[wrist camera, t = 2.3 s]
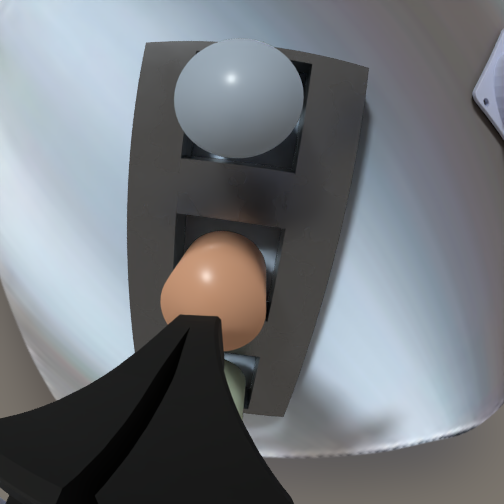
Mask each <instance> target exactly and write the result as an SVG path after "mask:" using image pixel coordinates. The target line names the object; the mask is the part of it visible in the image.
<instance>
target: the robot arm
mask: <svg viewBox="0 0 504 504" xmlns="http://www.w3.org/2000/svg"><path fill="white" fill-rule="evenodd" d="M473 99H474V101H475V102H476V103H477V105H478V106H479V107H480V108H481V110H482V111H483V112H484V113H485V115H486V116H487V117H488V119H489V120H490V121H491V123H492V124H493V125H494V127H495V128H496V130H497V131H498V132H499V134H500V135H501V137H502V138H503V140H504V29H503V30H502V31H501V33H500V36H499V38H498V40H497V43H496V45H495V47H494V49H493V51H492V54H491V56H490V58H489V60H488V62H487V64H486V66H485V68H484V70H483V72H482V74H481V76H480V78H479V80H478V82H477V84H476V86H475V88H474V90H473ZM484 101H485V105H484ZM224 364H225V361H224V349H223V336H222V323H221V319H220V318H219V317H218V316H201V315H182V314H180V315H178V316H177V317H176V318H175V319H174V320H173V321H172V322H170V323H169V324H168V325H167V326H166V327H165V328H164V329H163V330H161V331H160V332H159V333H158V334H157V335H156V336H155V337H154V338H152V339H151V340H150V341H149V342H148V343H147V344H145V345H144V346H143V347H142V348H141V349H140V350H138V351H137V352H136V353H134V354H133V355H132V356H130V357H129V358H128V359H127V360H125V361H124V362H123V363H121V364H120V365H119V366H117V367H116V368H115V369H113V370H112V371H110V372H109V373H107V374H106V375H104V376H103V377H101V378H99V379H98V380H96V381H94V382H93V383H91V384H89V385H88V386H86V387H84V388H82V389H80V390H78V391H76V392H74V393H72V394H70V395H68V396H66V397H64V398H62V399H60V400H57V401H55V402H53V403H50V404H47V405H45V406H42V407H40V408H37V409H34V410H31V411H28V412H24V413H21V414H17V415H13V416H9V417H5V418H0V488H2V489H3V490H4V491H5V492H6V493H8V494H9V497H8V499H7V502H6V501H4V500H3V499H1V498H0V504H294V503H293V500H292V498H291V497H290V495H289V494H288V493H287V492H286V490H285V489H284V488H283V487H282V485H281V484H280V483H279V481H278V480H277V478H276V477H275V476H274V474H273V473H272V471H271V470H270V468H269V467H268V466H267V464H266V462H265V461H264V459H263V458H262V456H261V454H260V453H259V451H258V449H257V448H256V446H255V444H254V442H253V440H252V438H251V437H250V435H249V433H248V431H247V429H246V427H245V425H244V423H243V421H242V419H241V417H240V414H239V412H238V410H237V408H236V405H235V403H234V400H233V397H232V395H231V392H230V389H229V386H228V383H227V380H226V376H225V373H224Z"/></svg>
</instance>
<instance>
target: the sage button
mask: <svg viewBox="0 0 504 504" xmlns="http://www.w3.org/2000/svg"><path fill="white" fill-rule="evenodd" d="M224 361H225V364H224V373H225V376H226V380H227V383H228V386H229V389H230V392H231V395H232V397H233V400H234V403H235V405H236V408H237V410H238V412H239V414H240V417H241V419H242V418H243V407H244V396H245V385H246V379H245V376H244V374H243V372H242V371H241V370H240V369H239V368H238V367H237V366H236V365H234V364H233V363H231V362H229V361H227V360H225V359H224Z"/></svg>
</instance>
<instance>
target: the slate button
mask: <svg viewBox="0 0 504 504" xmlns="http://www.w3.org/2000/svg"><path fill="white" fill-rule="evenodd" d="M303 99H304V95H303V86H302V82H301V79H300V76H299V74H298V72H297V70H296V68H295V66H294V65H293V64H292V62H291V61H290V60H289V59H288V58H287V57H286V56H285V55H284V54H283V53H282V52H280V51H279V50H278V49H276V48H274V47H273V46H271V45H269V44H266V43H264V42H261V41H257V40H253V39H245V38H236V39H228V40H223V41H220V42H217V43H214V44H212V45H210V46H208V47H206V48H204V49H203V50H201V51H200V52H198V53H197V54H196V55H195V56H194V57H193V58H192V59H191V60H190V61H189V62H188V63H187V64H186V66H185V67H184V69H183V70H182V72H181V74H180V76H179V78H178V81H177V84H176V88H175V94H174V107H175V112H176V116H177V119H178V122H179V124H180V126H181V128H182V129H183V131H184V132H185V134H186V135H187V136H188V137H189V138H190V139H191V141H193V142H194V143H195V144H196V145H197V146H199V147H200V148H202V149H204V150H205V151H207V152H210V153H212V154H215V155H218V156H221V157H227V158H247V157H253V156H256V155H260V154H263V153H265V152H267V151H269V150H271V149H273V148H274V147H276V146H277V145H279V144H280V143H281V142H282V141H284V140H285V139H286V138H287V137H288V136H289V134H290V133H291V132H292V130H293V129H294V128H295V126H296V124H297V122H298V120H299V118H300V115H301V112H302V107H303Z"/></svg>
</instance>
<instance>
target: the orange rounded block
mask: <svg viewBox="0 0 504 504" xmlns="http://www.w3.org/2000/svg"><path fill="white" fill-rule="evenodd" d="M160 302H161V310H162V314H163V316H164V319H165V321H166V323H167V324H169V323H170V322H172V321H173V320H174V319H175V318H176V317H177V316H178V315H180V314H182V315H201V316H218V317H219V318H220V319H221V323H222V336H223V349H224V351H230V350H235V349H238V348H240V347H242V346H245V345H246V344H248V343H249V342H251V341H252V340H253V339H254V338H255V337H256V336H257V335H258V334H259V332H260V331H261V329H262V327H263V325H264V321H265V317H266V264H265V260H264V257H263V255H262V253H261V251H260V250H259V249H258V247H257V246H256V245H255V244H254V243H253V242H252V241H251V240H249V239H248V238H246V237H245V236H243V235H240V234H238V233H235V232H231V231H214V232H210V233H207V234H204V235H202V236H201V237H199V238H198V239H196V240H195V241H194V242H193V243H192V244H191V245H190V247H189V248H188V250H187V251H186V253H185V254H184V255H183V257H182V258H181V260H180V261H179V263H178V264H177V266H176V267H175V269H174V270H173V272H172V273H171V275H170V276H169V278H168V279H167V281H166V283H165V284H164V287H163V289H162V293H161V301H160Z"/></svg>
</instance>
